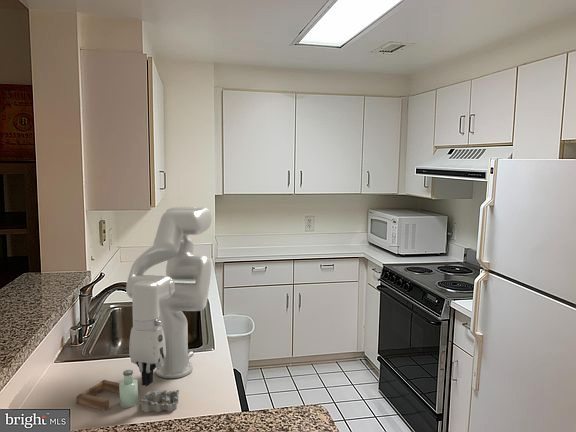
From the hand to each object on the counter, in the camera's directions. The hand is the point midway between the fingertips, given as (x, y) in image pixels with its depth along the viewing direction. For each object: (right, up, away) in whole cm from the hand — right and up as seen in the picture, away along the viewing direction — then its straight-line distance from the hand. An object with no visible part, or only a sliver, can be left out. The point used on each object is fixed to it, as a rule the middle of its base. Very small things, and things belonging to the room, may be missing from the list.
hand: (147, 383), depth 134 cm
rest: (-15, -7, +6) cm, 18 cm away
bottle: (-7, -7, +3) cm, 10 cm away
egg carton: (+3, -8, +2) cm, 9 cm away
